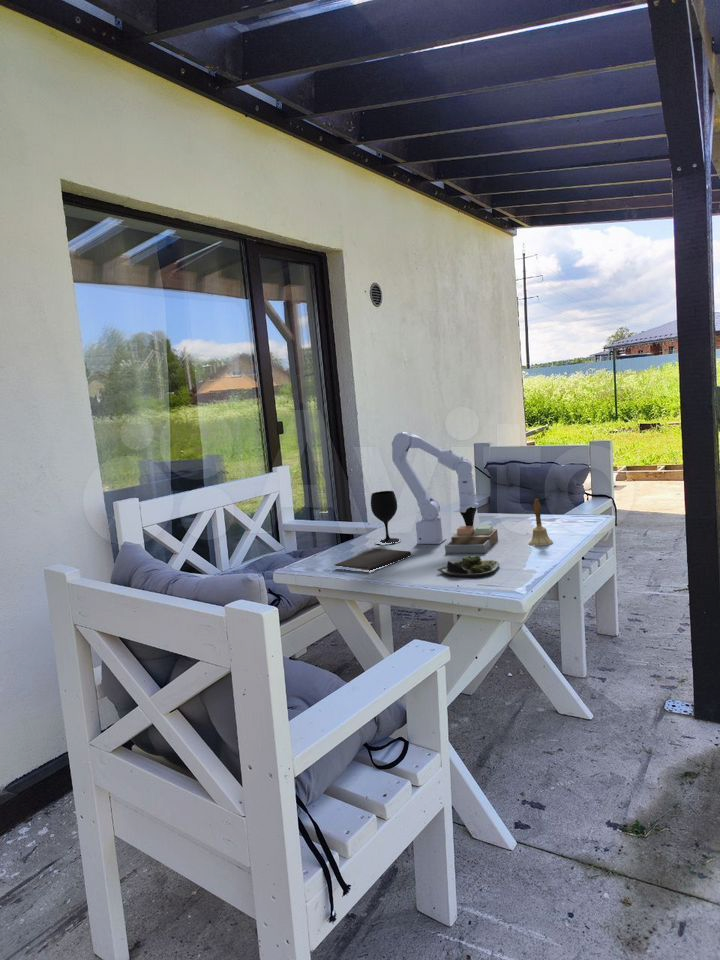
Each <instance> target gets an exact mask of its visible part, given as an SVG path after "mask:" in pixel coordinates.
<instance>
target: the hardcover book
mask: <svg viewBox="0 0 720 960" xmlns="http://www.w3.org/2000/svg"><path fill="white" fill-rule="evenodd" d="M410 555H411V556H412V552H411V551H409V550H397V549H387V548H386V549H385V548H375V549H372V550H369V551H367V552H363V553H361V554H358V555H355V556H353V557H350V558H348V559H346V560H342V561H341V562H337V563H335V564H334V566H335V567H336V566H343V567H349V568H355V569H361V570H369V571H370V570H373V569H376V568H379V567H382V566H385V565H388V564H390V563H393V562H396V561H398V560H401V559H403V558H406V557H408V556H410ZM408 558H409V557H408ZM406 559H407V558H406ZM403 560H404V559H403ZM401 561H402V560H401ZM396 563H397V562H396Z"/></svg>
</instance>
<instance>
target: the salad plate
mask: <svg viewBox="0 0 720 960" xmlns="http://www.w3.org/2000/svg"><path fill="white" fill-rule="evenodd" d="M461 559H462V560H461ZM461 559H460V560H455V561H449V560H448V561H447V565H445V566H442V567H440V568H437V569H436V571H438V572H439V573H442V574H444V576H446V577H449V578H456V579H479V578H480V579H481V578H486V577H488V576H491V575H493V574H494V573H496V570H497V569H498V568H499V566H500V562H499V561H498V560H492V559H491V560H488V559H486V560H483V559H482V558H481V556H480V555H476V556H475V554H473V555H472V556H470V555H469V556H467V557H462V558H461Z"/></svg>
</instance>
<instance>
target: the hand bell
mask: <svg viewBox="0 0 720 960" xmlns="http://www.w3.org/2000/svg"><path fill="white" fill-rule="evenodd" d="M533 500H534V501H533V504H532V505H533V506H532V507H533V513H534V516H535V522H536V523H535V524H536V526H535V527H534V528H533V529H532V536H531V539H530V541H529V542H528V545H529V544H530V545H529V546H531V545H535V546H534V547H543V546H542V545H547V546H551V545H553V544H552V543H554V541H553V540H552V539H551V538H550V536H549V535H548V531H547V528H546V527H544V526H542V525H543V524H542V519H541V515H542V505H541V502H540V501H539V498H534V499H533ZM550 544H551V545H550ZM540 545H541V546H540Z"/></svg>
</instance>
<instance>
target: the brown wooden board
mask: <svg viewBox="0 0 720 960" xmlns="http://www.w3.org/2000/svg"><path fill="white" fill-rule="evenodd" d="M498 534H499V533H498V529H497V528H496V529H494V528H493V531H492V532H491V533H490V534H476V529H474V532H473V533H472V534H457V532H456V533H455V534H453V536H451V538H450V539H451V540H453V544H454V545H483V544H484V543H485V542H486V541H487V540H490V547H491V546H492V545H493V544H494V543H495V542H496V541H497V542H498V540H499V536H498ZM451 540H450V541H451ZM495 544H496V543H495ZM495 544H494V545H495ZM494 545H493V546H494ZM493 546H492V547H493ZM492 547H491V548H492Z"/></svg>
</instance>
